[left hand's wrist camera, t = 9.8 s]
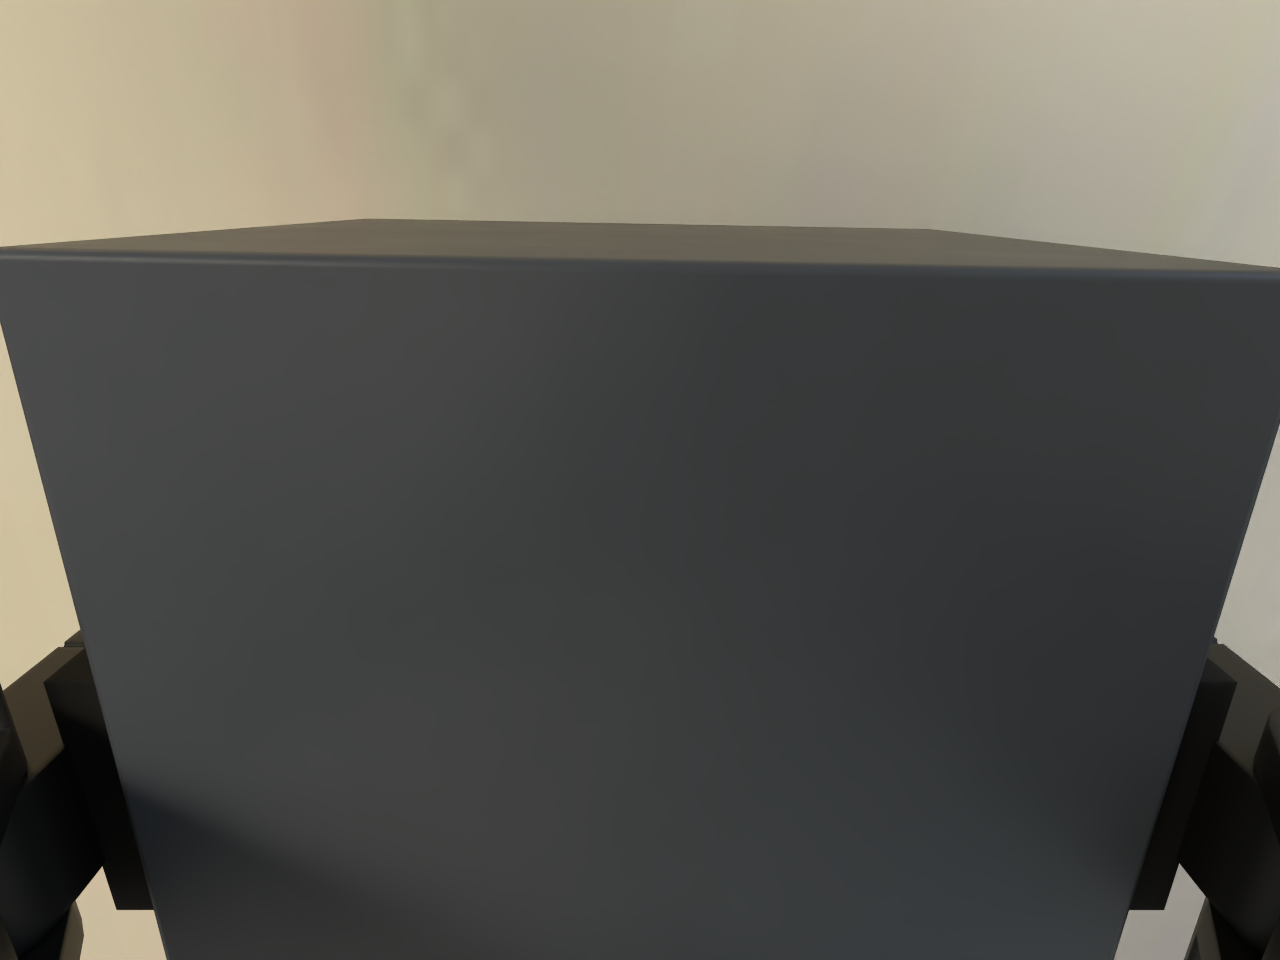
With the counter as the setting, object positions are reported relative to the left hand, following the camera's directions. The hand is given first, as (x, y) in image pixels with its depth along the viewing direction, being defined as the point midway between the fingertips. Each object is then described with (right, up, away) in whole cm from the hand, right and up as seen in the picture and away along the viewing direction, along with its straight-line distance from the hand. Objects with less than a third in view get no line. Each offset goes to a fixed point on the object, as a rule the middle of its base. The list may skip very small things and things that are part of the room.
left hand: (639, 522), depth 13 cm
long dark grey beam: (0, -21, +8) cm, 22 cm away
